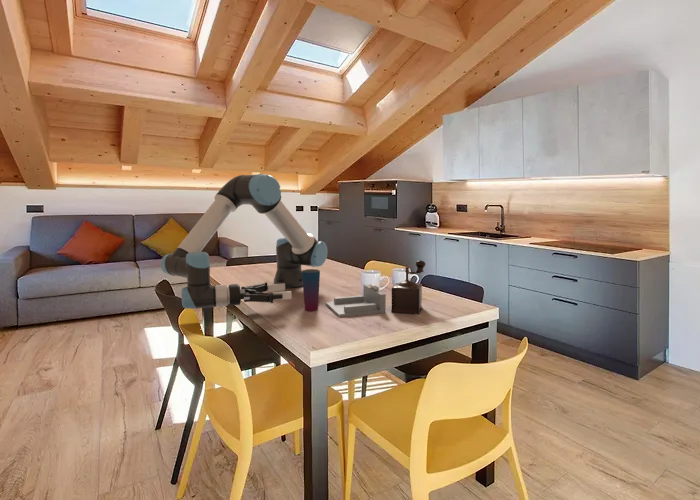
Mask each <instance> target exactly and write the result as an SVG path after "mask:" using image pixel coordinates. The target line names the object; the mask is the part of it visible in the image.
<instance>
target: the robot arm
mask: <svg viewBox="0 0 700 500" xmlns="http://www.w3.org/2000/svg"><path fill="white" fill-rule="evenodd" d="M243 205H250V206H252V207H253V208H254V209H255V211H256V212H257V213H258V214H262V215H263V214H264V215H265V216H266V218H267V219H268V220H269V221H270V222H271V224H273V225H274V226H275V228H276V229H277V231H278V232H280V233H281V235H282V236H283V237H282V238H278V239H277V240H276V247H275V248H276V249H275V252H276V272H275V274H274V278H273V284H272V283H270V284H268V282H263V283H260V284H259V283H258V284H253V285H249V286H241V287H240V284H239V283H232V284H216V285H211V268H210V267H211V266H210V265H211V263H210V257H209V256H210V255H209V253H208V252H206V251H203V249H204V248H205V247H206V245H207V244H208V243H209V241H210V240H211V239H212V238H213V236H214V235H215V234H216V232H217V231H218V230H219V228H220V227H221V226H222V224H224V222H225V220H226V219H227V218H228V217H229V215H230V214H231V213H234V212H236V210H238V208H239V207H240V206H243ZM328 250H329V249H328V246H327V244H326V242H324V241H322V240H320V241H318V240H317V239H316V238H315V236H314V235H313V234H312V233H309V232H307V231H306V230H305V229H304V228H303V226H302V225H301V224H300V223H299V222H298V220H297V219H296V218H295V217H294V216H293V214H292V212H290V210H289V209H288V208H287V207H286V205H285V204H284V203H283V201H282V190H281V185H280V183H279V181H278V180H277V179H276V178H275V177H274V176H272V175H269V174H264V173H257V174H240V175H237V176H234V177H232V178H231V179H229V181H228V182H226V183H225V184H224V185H223V186H222V187H221V188H220V189H219V190H218V192H217V193H216V194H215V195H214V201H213V202H212V203H211V205H210V206H209V207H208V208H207V210H206V211H205V212H204V213H203V215H202V216H201V217H200V218H199V220H198V221H197V222H196V223H195V225H194V226H192V229H191V230H190V231H189V232H188V233H187V235H186V236H185V238H183V240H182V241H181V242H180V244H179V245H178V246H177V248H176V249H175V250H174V251H173V252H172V253H169V254H166V255H164V256H162V257H161V260H160V263H159V264H160V265H159V267H160V269H161V271H162V272H163V273H165V274H167V275H170V276H173V277H174V276H176V277H182V278H186V283H187V286H184V287H182V289H181V304H182V307H183V308H184V309H191V310H192V309H204V308H205V309H206V308H215V307H217V308H220V309H221V308H223V307H228V305H230V306H232V307H233V306H239V305H241V300H243V302H244V303H248V302H249V303H250V302H252V303H253V302H254V303H255V302H256V303H270V304H273V303H274V301H282V300H292V297H293V296H292V290H289V291H288V290H287V291H286V289H288V288H289V289H291V288H293V289H294V288H299V287H303V279H302V270H303V268H302V266H308V267H312V268H315V267H316V268H317V267H322V266H323V265H324V264H325V263H326V260H327V257H328ZM270 292H271V293H270Z"/></svg>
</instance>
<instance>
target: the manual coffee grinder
mask: <svg viewBox="0 0 700 500" xmlns="http://www.w3.org/2000/svg"><path fill="white" fill-rule="evenodd" d="M414 264H415V266H416V271H409V270H410V268H409V267H408V266H406V267H405V280H403V281H401V282H396V283H394V285H393V286H392V287H391V313H394V314H395V313H396V314H407V315H419V314H420V313H421V312H422V311H423V306H422V305H423V304H422V299H423V298H422V297H423V296H422V295H423V292H422V291H423V284H422V283H417V281H415V282H414V281H413V280H410V279H409V275H417V274H421V273H424V268H425V266H426V262H425V261H423V260H421V259H420V260H416V261H415V263H414Z"/></svg>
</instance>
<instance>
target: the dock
mask: <svg viewBox="0 0 700 500" xmlns="http://www.w3.org/2000/svg"><path fill="white" fill-rule="evenodd" d="M386 296H387V295H386V293H384V292H383V291H381V290H380V288H379V286H377V285H376V284H373V283H370V284H368V283H367V284H363V295H361V294H360V295H351V296H335V297H333V301H325V305H326V307H327V308H329V310H331V311H332V312H333V314H335V315H336V316H337V317H338V318H346V317H355V316H365V315H367V316H368V315H375V314H385V313H386Z"/></svg>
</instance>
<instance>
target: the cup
mask: <svg viewBox="0 0 700 500" xmlns="http://www.w3.org/2000/svg"><path fill="white" fill-rule="evenodd" d="M320 276H321V270H320V269H316V268H310V269H309V268H308V269H307V268H306V269H302V279H303V286H302V289H303V304H304V311H305V312H316V311H318V310H319V299H320V298H319V296H320V295H319V294H320V280H321V277H320Z"/></svg>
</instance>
